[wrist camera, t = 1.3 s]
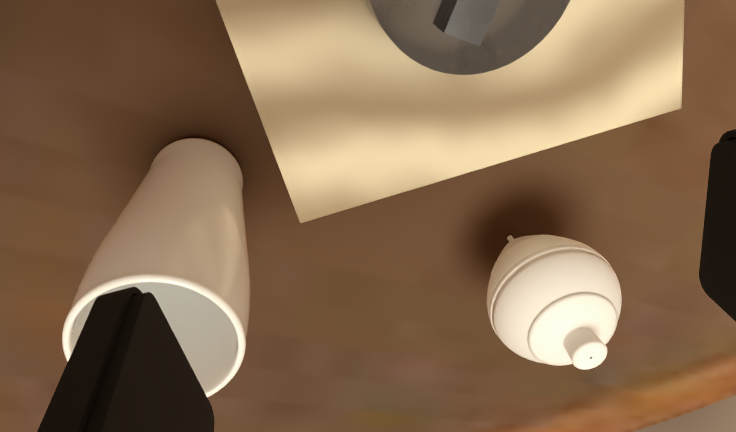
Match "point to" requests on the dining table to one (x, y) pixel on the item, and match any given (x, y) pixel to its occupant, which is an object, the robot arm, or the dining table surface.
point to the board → (439, 93)
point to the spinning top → (554, 300)
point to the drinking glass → (181, 257)
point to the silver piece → (466, 30)
